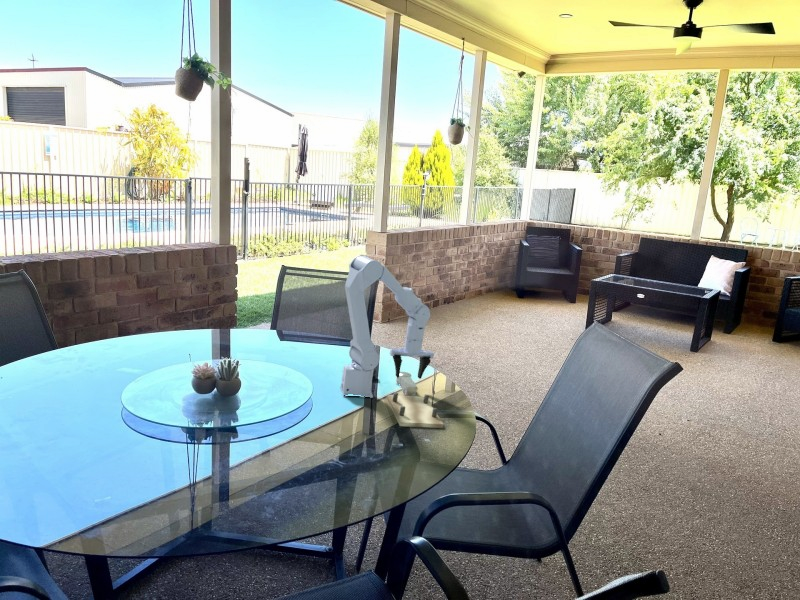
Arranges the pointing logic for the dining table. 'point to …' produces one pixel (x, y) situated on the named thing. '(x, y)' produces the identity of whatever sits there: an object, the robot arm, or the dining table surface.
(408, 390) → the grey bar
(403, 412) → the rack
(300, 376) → the dining table surface
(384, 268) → the robot arm
